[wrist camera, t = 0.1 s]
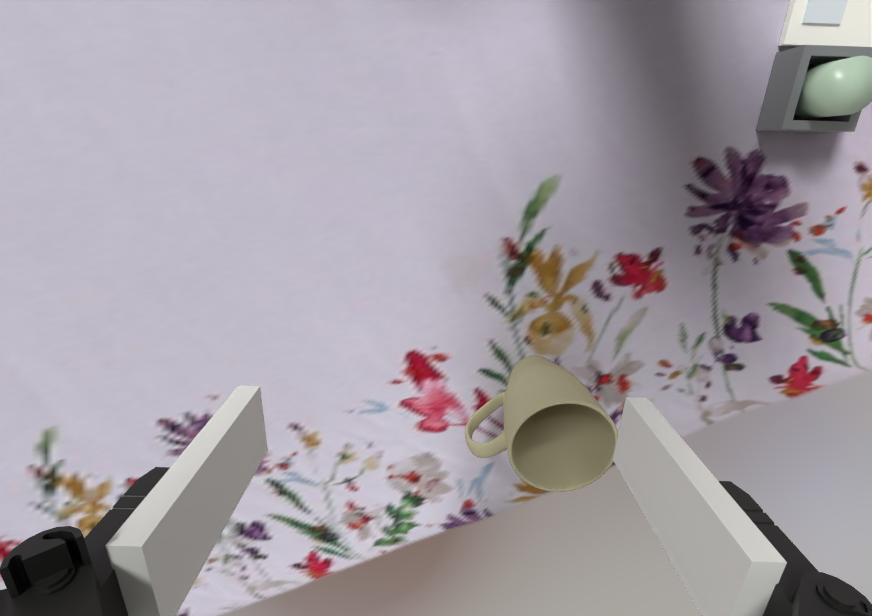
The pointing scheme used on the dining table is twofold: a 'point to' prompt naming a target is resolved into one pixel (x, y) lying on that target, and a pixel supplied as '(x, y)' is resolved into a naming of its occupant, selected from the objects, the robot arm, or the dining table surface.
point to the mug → (549, 428)
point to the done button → (836, 88)
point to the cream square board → (828, 23)
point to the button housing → (789, 84)
